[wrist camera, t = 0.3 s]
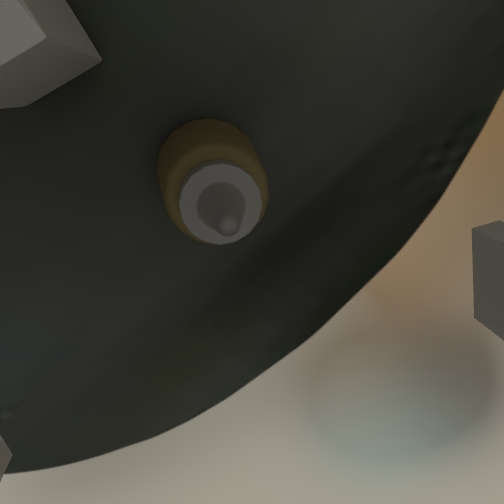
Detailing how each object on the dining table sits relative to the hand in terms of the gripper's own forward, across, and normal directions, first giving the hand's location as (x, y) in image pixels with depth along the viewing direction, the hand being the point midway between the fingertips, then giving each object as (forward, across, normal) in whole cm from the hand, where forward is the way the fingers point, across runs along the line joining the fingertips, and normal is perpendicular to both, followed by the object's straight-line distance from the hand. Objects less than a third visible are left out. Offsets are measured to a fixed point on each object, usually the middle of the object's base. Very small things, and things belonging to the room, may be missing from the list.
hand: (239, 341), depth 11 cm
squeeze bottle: (+28, +1, 0) cm, 28 cm away
